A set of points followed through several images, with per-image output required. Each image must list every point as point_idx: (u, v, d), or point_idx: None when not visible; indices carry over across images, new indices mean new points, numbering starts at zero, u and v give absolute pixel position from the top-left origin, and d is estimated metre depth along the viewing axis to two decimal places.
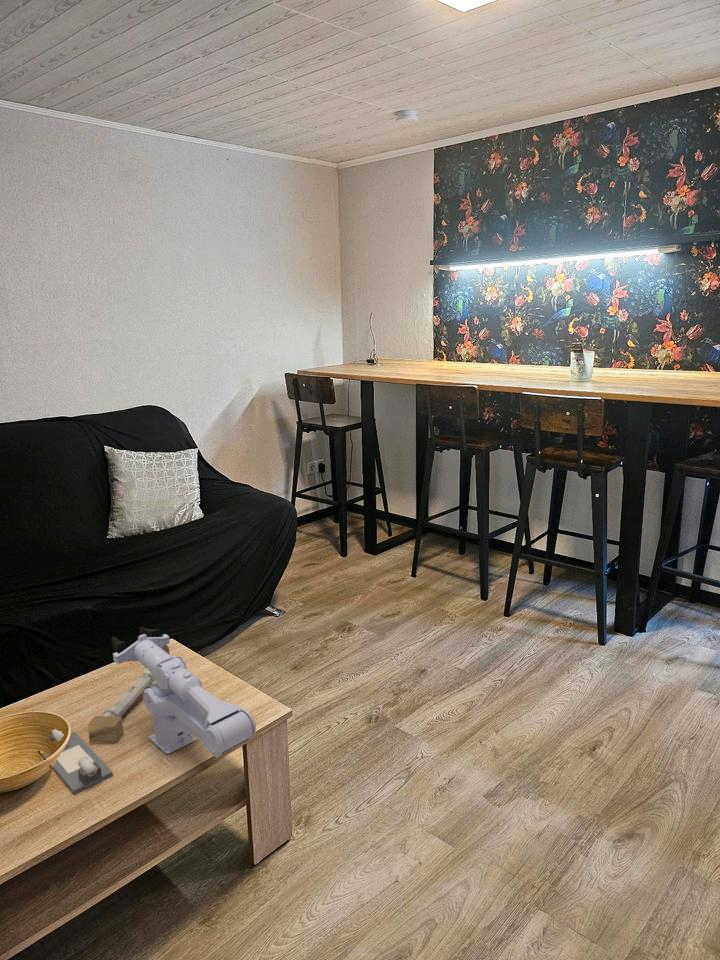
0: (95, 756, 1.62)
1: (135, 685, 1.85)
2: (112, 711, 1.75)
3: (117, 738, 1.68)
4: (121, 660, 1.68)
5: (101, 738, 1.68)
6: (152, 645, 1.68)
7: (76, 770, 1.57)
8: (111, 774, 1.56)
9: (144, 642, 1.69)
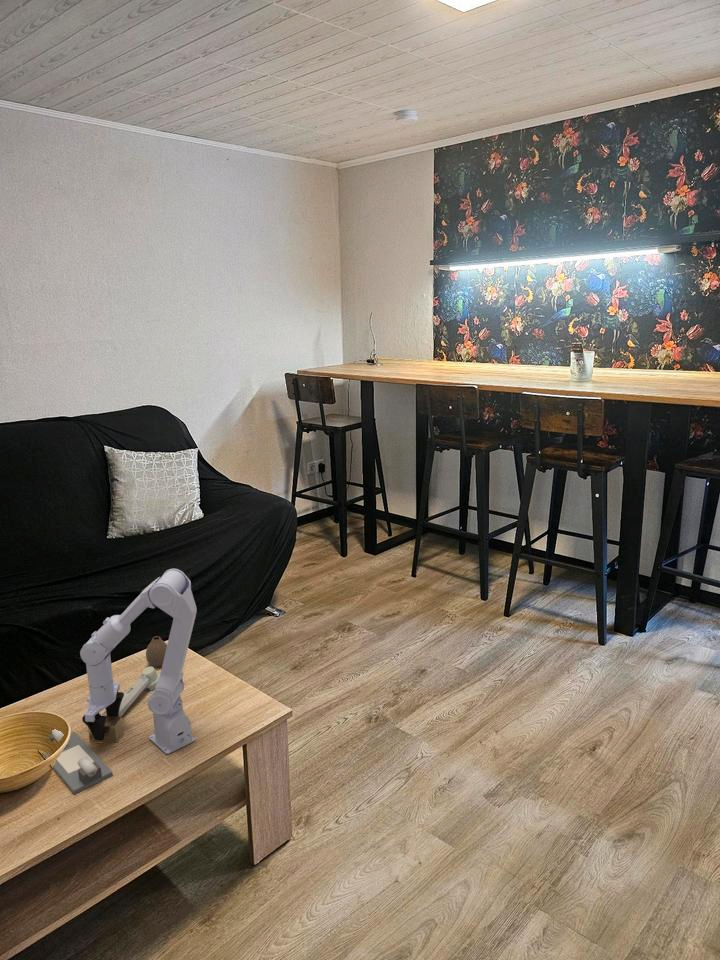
0: (95, 756, 1.62)
1: (133, 686, 1.85)
2: None
3: (117, 738, 1.68)
4: None
5: None
6: None
7: (76, 770, 1.57)
8: (111, 774, 1.56)
9: None
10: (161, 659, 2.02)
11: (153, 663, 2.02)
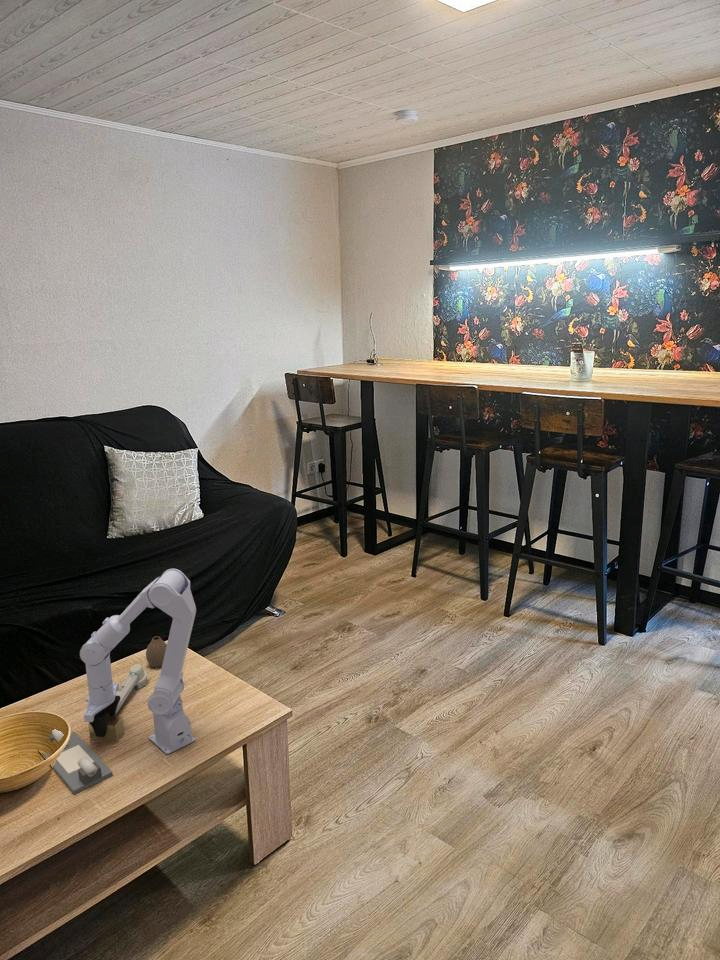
0: (95, 756, 1.62)
1: (124, 684, 1.86)
2: None
3: (118, 737, 1.69)
4: None
5: (102, 737, 1.68)
6: None
7: (76, 770, 1.57)
8: (111, 774, 1.56)
9: None
10: (161, 659, 2.02)
11: (153, 663, 2.02)
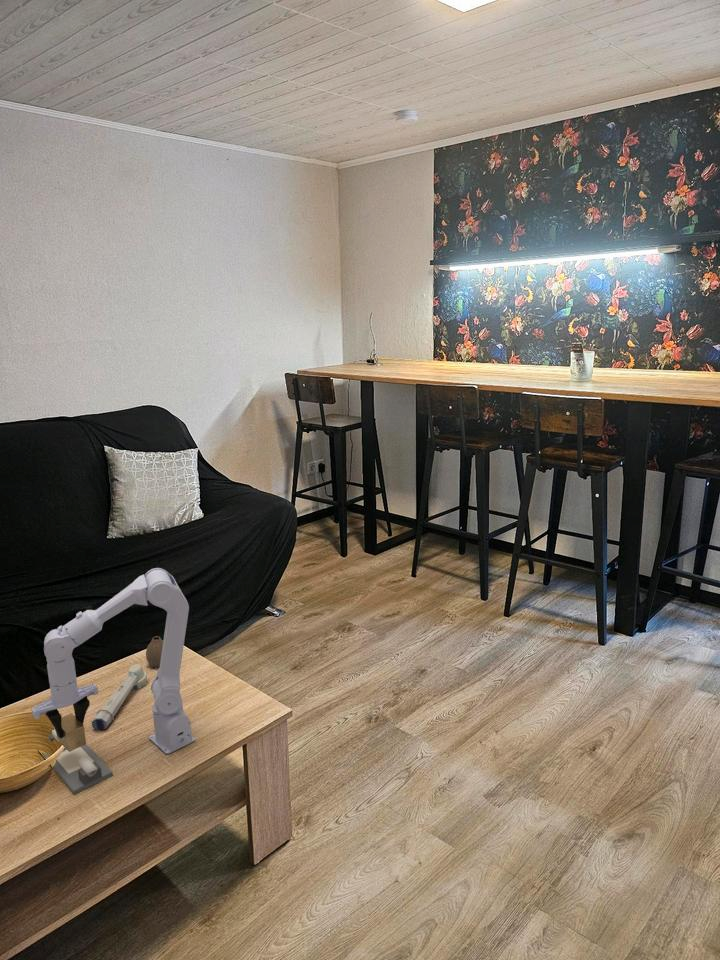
0: (95, 756, 1.62)
1: (123, 684, 1.86)
2: (106, 710, 1.75)
3: (71, 746, 1.56)
4: None
5: (61, 739, 1.58)
6: None
7: (76, 770, 1.57)
8: (111, 774, 1.56)
9: None
10: None
11: (153, 663, 2.02)
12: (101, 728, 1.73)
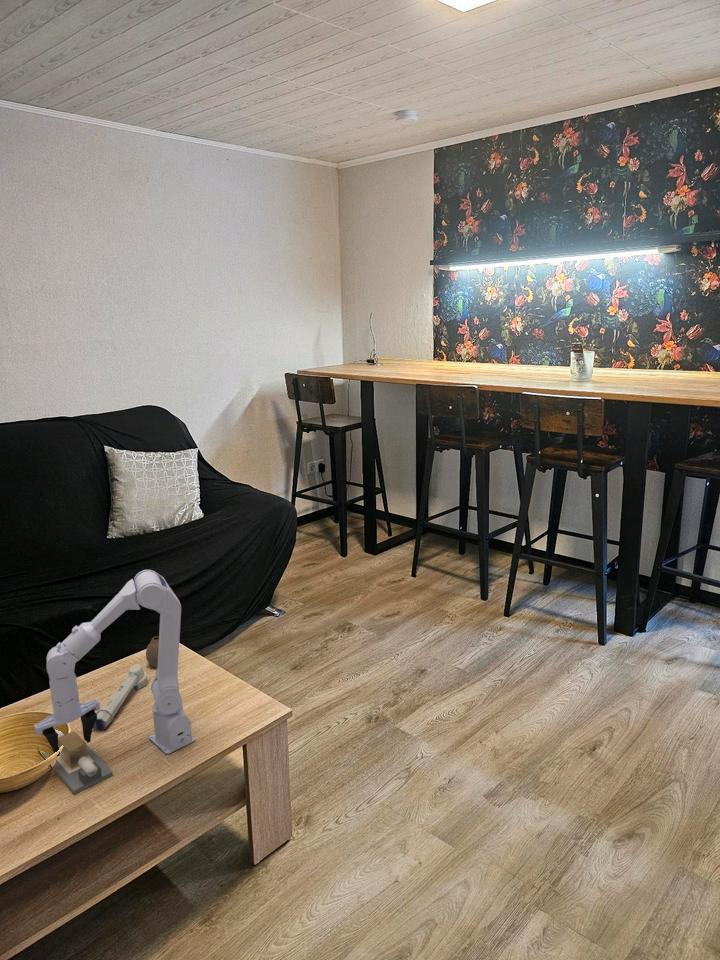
0: (95, 756, 1.62)
1: (123, 684, 1.86)
2: (106, 710, 1.75)
3: (73, 764, 1.57)
4: None
5: (64, 756, 1.59)
6: None
7: (76, 770, 1.57)
8: (111, 774, 1.56)
9: None
10: None
11: (153, 663, 2.02)
12: (101, 728, 1.73)
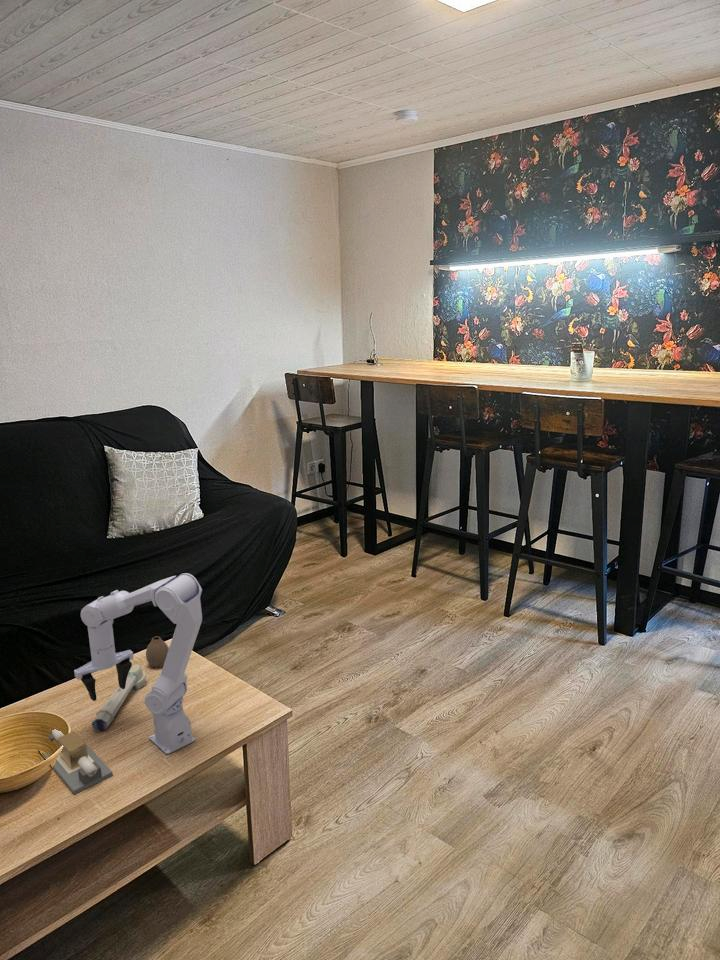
0: (95, 756, 1.62)
1: None
2: (106, 711, 1.75)
3: (73, 764, 1.57)
4: None
5: (64, 756, 1.59)
6: None
7: (76, 770, 1.57)
8: (111, 774, 1.56)
9: None
10: (161, 659, 2.02)
11: (153, 663, 2.02)
12: (101, 729, 1.73)
